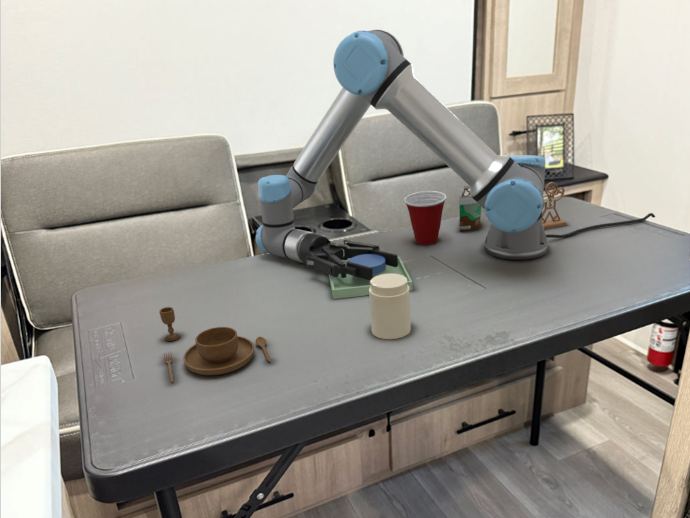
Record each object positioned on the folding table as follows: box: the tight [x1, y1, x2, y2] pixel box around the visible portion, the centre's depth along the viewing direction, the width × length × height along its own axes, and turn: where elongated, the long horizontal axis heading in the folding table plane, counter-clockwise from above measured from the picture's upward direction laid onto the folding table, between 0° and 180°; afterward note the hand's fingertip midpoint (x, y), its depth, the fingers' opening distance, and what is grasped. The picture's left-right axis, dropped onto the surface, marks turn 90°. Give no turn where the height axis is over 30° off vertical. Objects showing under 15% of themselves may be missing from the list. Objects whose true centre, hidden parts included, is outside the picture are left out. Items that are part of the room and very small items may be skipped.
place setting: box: [159, 306, 271, 383], centre depth 107 cm, size 18×20×6 cm
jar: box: [368, 274, 412, 340], centre depth 111 cm, size 7×7×10 cm
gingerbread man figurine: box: [542, 181, 567, 230], centre depth 162 cm, size 9×4×12 cm, turn 111°
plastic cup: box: [403, 190, 447, 246], centre depth 154 cm, size 11×11×12 cm
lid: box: [348, 254, 386, 275], centre depth 133 cm, size 8×8×2 cm
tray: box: [328, 256, 414, 300], centre depth 134 cm, size 17×15×2 cm
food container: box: [458, 185, 483, 233], centre depth 164 cm, size 12×6×10 cm, turn 168°
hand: (384, 267), depth 130 cm, fingers closed on lid, 8 cm apart
